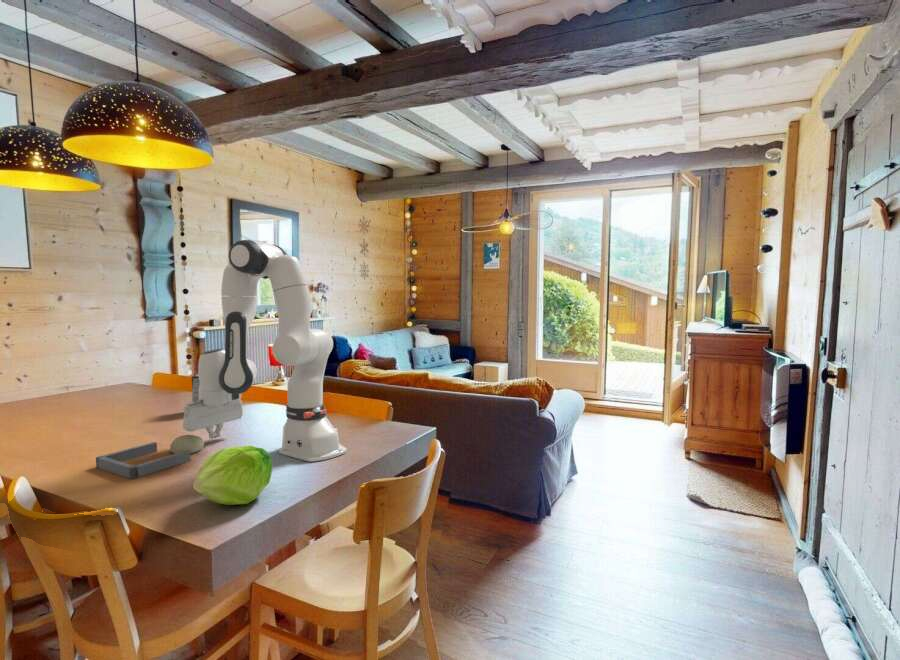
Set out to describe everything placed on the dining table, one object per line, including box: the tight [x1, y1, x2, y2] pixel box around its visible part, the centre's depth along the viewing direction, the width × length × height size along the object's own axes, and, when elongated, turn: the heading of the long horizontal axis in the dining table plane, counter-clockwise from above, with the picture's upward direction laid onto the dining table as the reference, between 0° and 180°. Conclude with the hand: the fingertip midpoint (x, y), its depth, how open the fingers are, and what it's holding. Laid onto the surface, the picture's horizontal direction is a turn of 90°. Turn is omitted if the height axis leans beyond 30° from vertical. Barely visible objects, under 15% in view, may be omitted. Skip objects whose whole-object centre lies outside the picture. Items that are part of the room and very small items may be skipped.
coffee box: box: [191, 372, 200, 402], centre depth 199 cm, size 9×6×16 cm
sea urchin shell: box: [169, 434, 205, 455], centre depth 151 cm, size 9×8×8 cm
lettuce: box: [192, 445, 273, 506], centre depth 114 cm, size 15×20×14 cm
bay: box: [95, 441, 191, 480], centre depth 139 cm, size 16×18×3 cm
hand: (214, 437), depth 160 cm, fingers closed
